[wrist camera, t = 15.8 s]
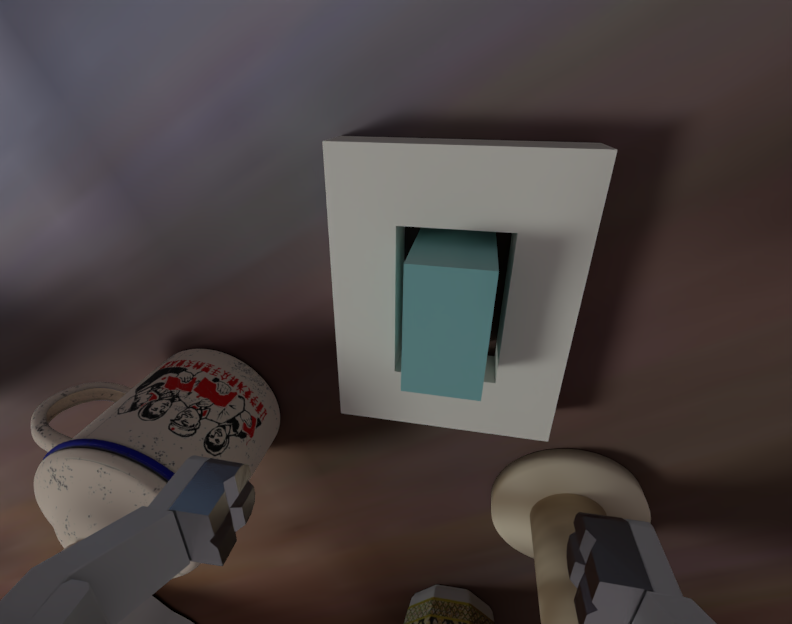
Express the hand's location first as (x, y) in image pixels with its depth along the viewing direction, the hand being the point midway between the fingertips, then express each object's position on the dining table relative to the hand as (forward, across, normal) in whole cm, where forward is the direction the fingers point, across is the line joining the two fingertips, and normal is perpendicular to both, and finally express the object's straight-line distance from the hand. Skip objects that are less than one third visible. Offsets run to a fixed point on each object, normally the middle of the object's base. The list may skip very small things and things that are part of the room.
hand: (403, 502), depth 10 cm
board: (+12, +1, 0) cm, 13 cm away
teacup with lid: (+13, -15, -8) cm, 22 cm away
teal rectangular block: (+13, +1, +1) cm, 13 cm away
